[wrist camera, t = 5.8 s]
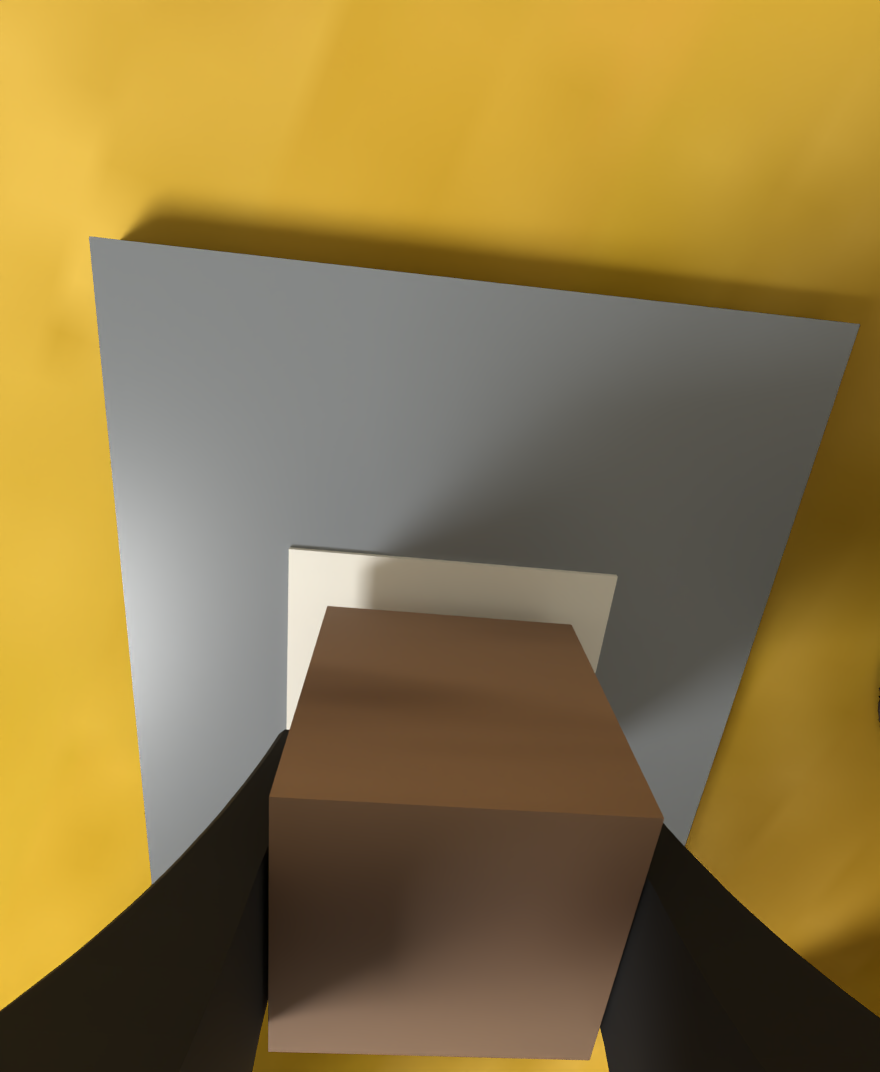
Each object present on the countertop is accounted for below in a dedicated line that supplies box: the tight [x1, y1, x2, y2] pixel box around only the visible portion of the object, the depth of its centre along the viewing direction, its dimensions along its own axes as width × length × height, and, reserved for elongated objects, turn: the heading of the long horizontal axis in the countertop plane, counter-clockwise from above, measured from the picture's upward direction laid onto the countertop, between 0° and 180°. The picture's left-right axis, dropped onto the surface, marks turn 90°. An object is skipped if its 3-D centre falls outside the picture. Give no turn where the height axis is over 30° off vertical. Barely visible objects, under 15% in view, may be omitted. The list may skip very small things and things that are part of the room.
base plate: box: [89, 237, 860, 884], centre depth 14 cm, size 18×14×1 cm
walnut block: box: [268, 606, 664, 1060], centre depth 11 cm, size 5×5×5 cm
